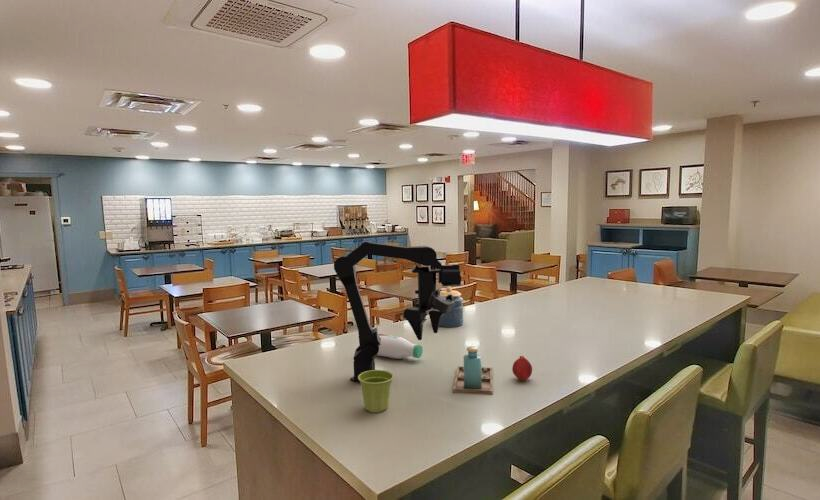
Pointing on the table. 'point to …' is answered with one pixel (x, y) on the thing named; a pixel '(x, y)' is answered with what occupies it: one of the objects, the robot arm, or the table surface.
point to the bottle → (472, 369)
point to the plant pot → (376, 389)
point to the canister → (453, 310)
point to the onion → (522, 368)
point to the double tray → (485, 389)
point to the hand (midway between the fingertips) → (427, 336)
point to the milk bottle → (398, 347)
